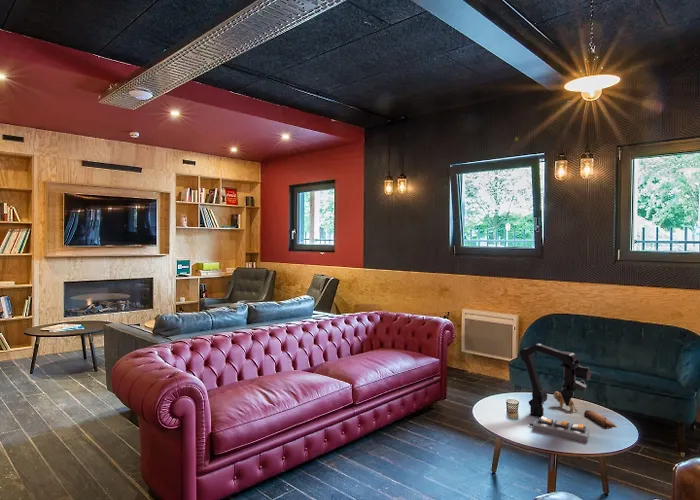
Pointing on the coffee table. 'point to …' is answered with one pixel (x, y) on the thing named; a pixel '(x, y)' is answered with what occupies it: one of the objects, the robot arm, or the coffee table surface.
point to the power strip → (561, 430)
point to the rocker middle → (561, 423)
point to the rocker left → (545, 419)
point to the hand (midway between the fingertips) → (568, 403)
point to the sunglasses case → (599, 419)
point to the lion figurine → (560, 399)
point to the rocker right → (578, 426)
